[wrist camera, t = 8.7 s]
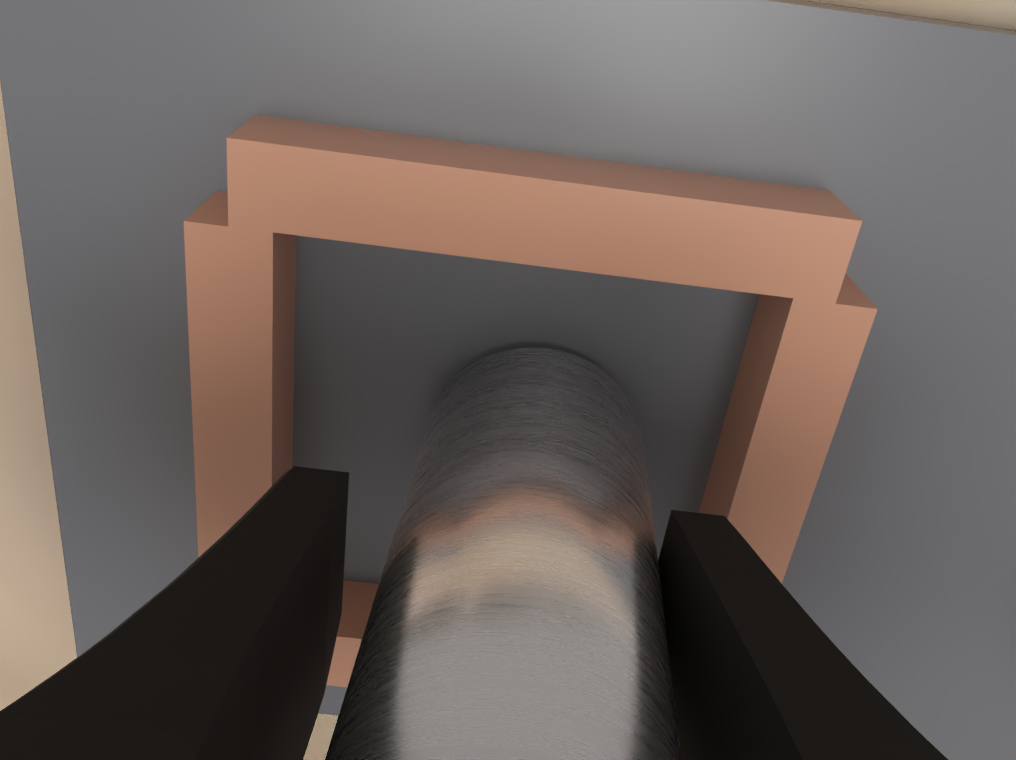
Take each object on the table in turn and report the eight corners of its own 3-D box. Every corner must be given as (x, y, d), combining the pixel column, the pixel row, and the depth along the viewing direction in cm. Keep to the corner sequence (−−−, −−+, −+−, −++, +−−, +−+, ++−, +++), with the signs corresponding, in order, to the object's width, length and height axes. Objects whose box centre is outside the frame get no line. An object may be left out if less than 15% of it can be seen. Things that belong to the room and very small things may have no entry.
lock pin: (643, 572, 13) (708, 1281, 6) (389, 534, 13) (184, 1200, 6) (700, 342, 12) (878, 981, 5) (409, 299, 12) (151, 871, 5)
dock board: (1473, 790, 17) (1594, 903, 15) (105, 645, 16) (47, 746, 14) (2056, 177, 12) (2363, 232, 10) (21, -110, 10) (-94, -114, 9)
